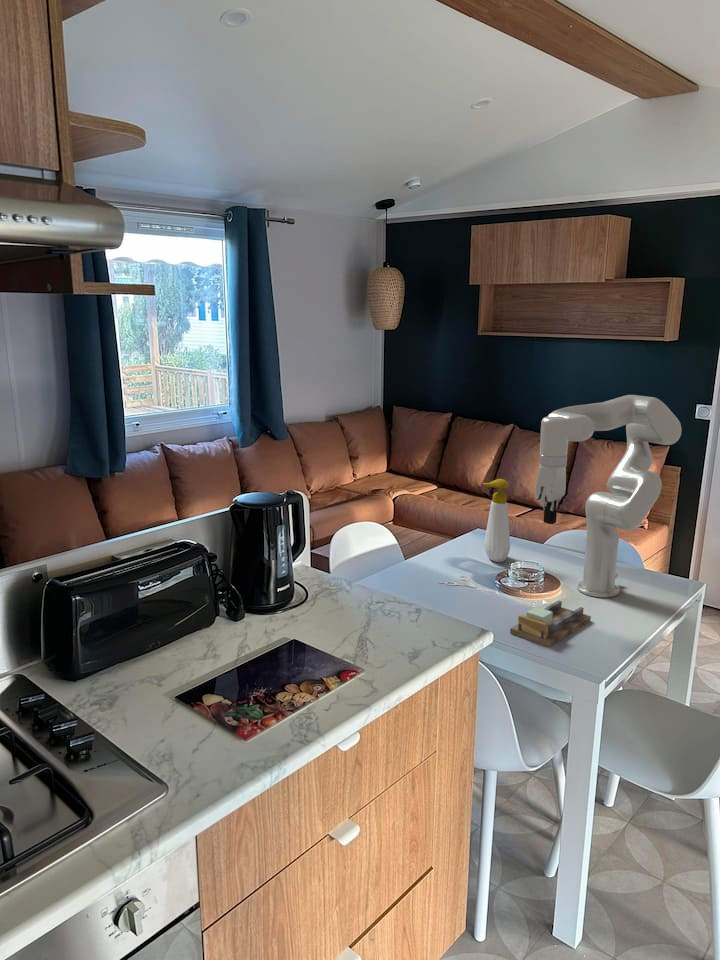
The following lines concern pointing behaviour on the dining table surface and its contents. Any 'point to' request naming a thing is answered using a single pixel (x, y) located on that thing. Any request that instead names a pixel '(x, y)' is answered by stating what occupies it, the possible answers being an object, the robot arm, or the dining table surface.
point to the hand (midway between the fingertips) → (549, 522)
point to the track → (559, 629)
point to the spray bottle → (498, 524)
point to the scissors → (468, 585)
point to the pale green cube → (541, 615)
